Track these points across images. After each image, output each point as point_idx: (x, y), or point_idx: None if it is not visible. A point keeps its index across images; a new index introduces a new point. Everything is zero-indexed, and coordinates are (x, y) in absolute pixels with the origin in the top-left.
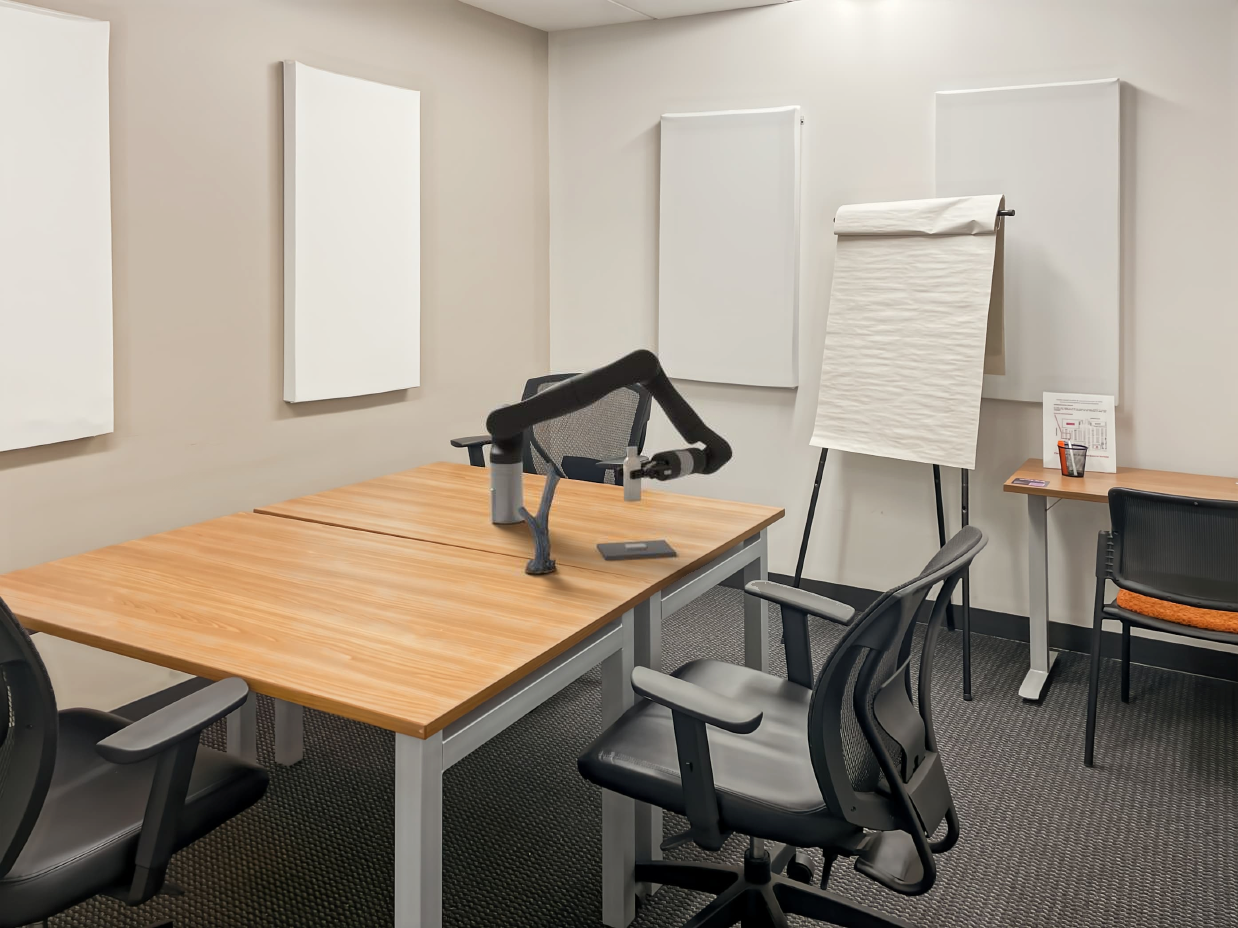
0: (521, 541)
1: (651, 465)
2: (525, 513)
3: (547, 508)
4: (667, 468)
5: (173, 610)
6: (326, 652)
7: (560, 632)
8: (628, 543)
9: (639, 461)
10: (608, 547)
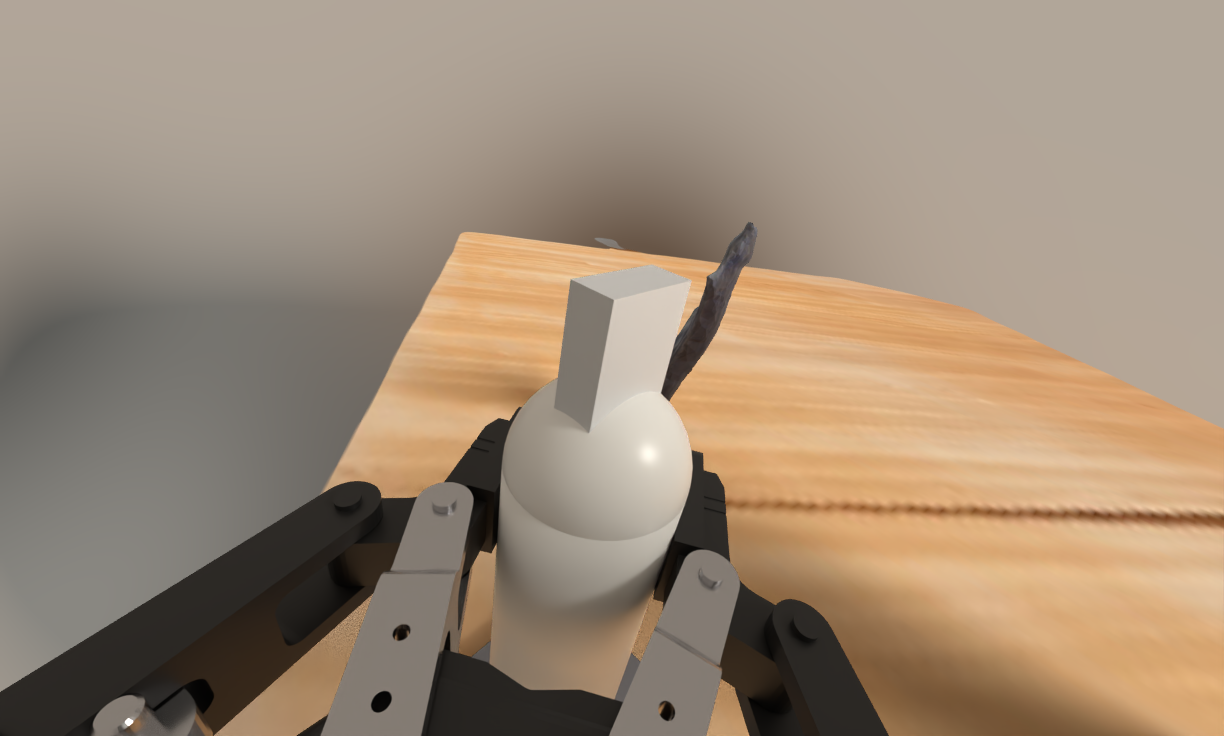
0: (938, 637)
1: (376, 595)
2: (688, 319)
3: (680, 341)
4: (35, 683)
5: (793, 290)
6: (612, 266)
7: (438, 302)
8: None
9: (515, 436)
10: (622, 698)
